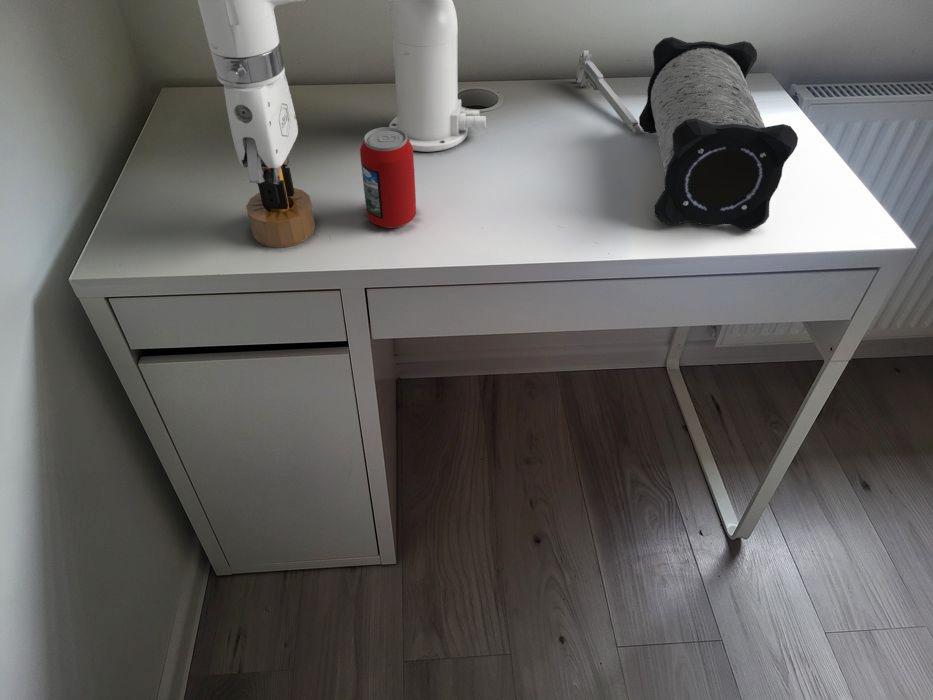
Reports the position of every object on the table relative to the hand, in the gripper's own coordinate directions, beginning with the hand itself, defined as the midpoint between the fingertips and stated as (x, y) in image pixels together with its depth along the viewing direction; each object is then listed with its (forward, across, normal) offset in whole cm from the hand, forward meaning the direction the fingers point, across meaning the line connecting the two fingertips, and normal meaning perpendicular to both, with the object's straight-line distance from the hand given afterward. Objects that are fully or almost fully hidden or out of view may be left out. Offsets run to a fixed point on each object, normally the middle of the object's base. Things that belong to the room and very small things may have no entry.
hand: (279, 200), depth 92 cm
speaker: (+5, +18, -57) cm, 60 cm away
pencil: (+4, 0, 0) cm, 4 cm away
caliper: (+5, +40, -45) cm, 60 cm away
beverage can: (+5, +4, -14) cm, 15 cm away
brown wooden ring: (+4, 0, 0) cm, 4 cm away
